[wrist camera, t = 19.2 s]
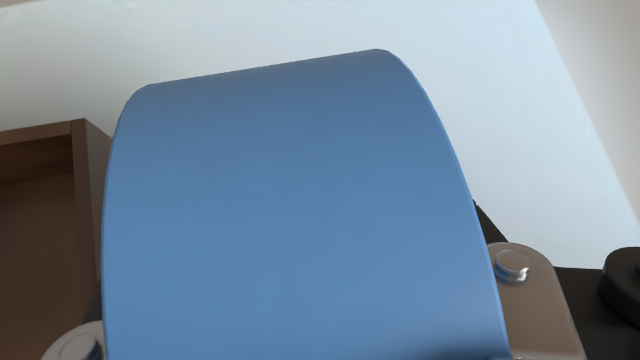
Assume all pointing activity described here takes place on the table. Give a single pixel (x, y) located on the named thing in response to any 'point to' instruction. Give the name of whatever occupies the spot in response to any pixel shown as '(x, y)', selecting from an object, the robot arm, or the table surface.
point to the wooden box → (49, 231)
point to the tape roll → (293, 221)
